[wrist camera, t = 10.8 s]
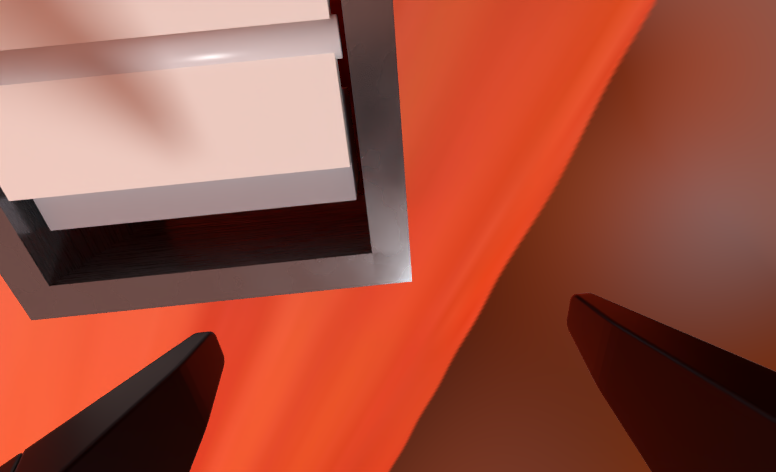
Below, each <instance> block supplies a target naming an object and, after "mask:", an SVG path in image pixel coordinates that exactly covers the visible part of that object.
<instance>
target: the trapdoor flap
mask: <svg viewBox="0 0 776 472" xmlns="http://www.w3.org/2000/svg"><path fill="white" fill-rule="evenodd" d="M342 58H343V51H342V41H341V34H340V27H339V21H338V17H337V14H331V9H330V2H329V0H0V187H1V188H2V190H3V192H4V193H5V195H6V197H7V198H8V200H9V201H15V200H25V199H33V200H34V202H35V204H36V206H37V207H38V209H39V211H40V213H41V214H42V216H43V218H44V220H45V221H46V223H47V225H48V227H49V229H50V230H51V231H53V230H63V229H73V228H83V227H93V226H102V225H112V224H122V223H132V222H142V221H152V220H162V219H172V218H182V217H192V216H202V215H212V214H222V213H232V212H242V211H252V210H261V209H271V208H281V207H291V206H301V205H311V204H321V203H331V202H341V201H351V200H356V199H357V191H358V182H359V167H358V159H357V151H356V143H355V135H354V128H353V120H352V112H351V104H350V96H349V88H348V87H344V88H341V83H340V75H339V68H338V61H337V59H342Z"/></svg>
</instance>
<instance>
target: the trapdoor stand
mask: <svg viewBox="0 0 776 472" xmlns="http://www.w3.org/2000/svg"><path fill="white" fill-rule="evenodd" d="M341 5H342V13H343V21H344V29H345V37H346V45H347V53H348V61H349V69H350V78H351V86H352V94H353V102H354V110H355V118H356V126H357V134H358V142H359V150H360V158H361V167H362V175H363V183H364V191H365V193H364V194H357V199H356V200H351V201H341V202H331V203H321V204H311V205H301V206H291V207H281V208H271V209H261V210H252V211H242V212H232V213H222V214H212V215H202V216H192V217H182V218H172V219H162V220H152V221H142V222H132V223H122V224H112V225H102V226H93V227H83V228H73V229H63V230H53V231H51V230H50V229H49V227H48V225H47V223H46V221H45V220H44V218H43V216H42V214H41V213H40V211H39V209H38V207H37V206H36V204H35V202H34V200H33V199H25V200H15V201H9V200H8V198H7V197H6V195H5V193H4V192H3V190H2V188H1V187H0V274H1V276H2V277H3V279H4V280H5V282H6V283H7V285H8V286H9V288H10V289H11V291H12V292H13V294H14V295H15V297H16V298H17V299H18V301H19V302H20V304H21V305H22V307H23V308H24V310H25V311H26V313H27V314H28V316H29V317H30V319H31V320H38V319H48V318H58V317H68V316H78V315H87V314H97V313H107V312H117V311H127V310H136V309H146V308H156V307H166V306H176V305H185V304H195V303H205V302H215V301H225V300H234V299H244V298H254V297H264V296H274V295H283V294H293V293H303V292H313V291H323V290H332V289H342V288H352V287H362V286H372V285H381V284H391V283H401V282H411V281H412V273H411V259H410V244H409V230H408V216H407V201H406V187H405V172H404V158H403V144H402V129H401V115H400V100H399V86H398V72H397V57H396V43H395V28H394V14H393V0H341Z"/></svg>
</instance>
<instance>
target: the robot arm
mask: <svg viewBox="0 0 776 472" xmlns="http://www.w3.org/2000/svg"><path fill="white" fill-rule="evenodd" d="M567 326H568V329H569V332H570V334H571V336H572V337H573V340H574V341H575V344H576V346H577V347H578V350H579V351H580V353H581V356H582V357H583V359H584V361H585V363H586V365H587V367H588V369H589V371H590V373H591V375H592V377H593V379H594V381H595V383H596V385H597V386H598V388H599V390H600V391H601V393H602V395H603V396H604V398H605V399H606V401H607V402H608V404H609V406H610V407H611V409H612V410H613V412H614V413H615V415H616V416H617V418H618V420H619V421H620V423H621V424H622V426H623V427H624V429H625V431H626V432H627V434H628V435H629V437H630V438H631V440H632V442H633V443H634V445H635V446H636V448H637V449H638V451H639V453H640V454H641V455H642V457H643V459H644V460H645V462H646V464H647V465H648V467H649V468H650V470H651V471H652V472H776V372H775V371H773V370H771V369H768V368H766V367H763V366H761V365H759V364H756V363H754V362H752V361H749V360H747V359H745V358H742V357H740V356H737V355H735V354H733V353H731V352H728V351H726V350H723V349H721V348H719V347H716V346H714V345H711V344H709V343H707V342H705V341H702V340H700V339H698V338H695V337H693V336H690V335H688V334H686V333H683V332H681V331H679V330H676V329H674V328H672V327H669V326H667V325H664V324H662V323H660V322H658V321H655V320H653V319H651V318H648V317H646V316H643V315H641V314H639V313H636V312H634V311H632V310H629V309H627V308H625V307H622V306H620V305H618V304H615V303H613V302H611V301H608V300H606V299H603V298H601V297H599V296H597V295H594V294H592V293H582V294H574V295H573V296H572V297H571V300H570V306H569V311H568V317H567ZM223 367H224V355H223V352H222V350H221V347H220V345H219V342H218V340H217V337H216V335H215V334H214V333H213V332H200V333H195V334H193V335H192V336H190V337H189V338H187V339H186V340H184V341H183V342H182V343H180V344H179V345H177V346H176V347H174V348H173V349H171V350H170V351H168V352H167V353H165V354H164V355H163V356H161V357H160V358H158V359H157V360H155V361H154V362H152V363H151V364H149V365H148V366H147V367H145V368H144V369H142V370H141V371H139V372H138V373H136V374H135V375H133V376H132V377H130V378H129V379H128V380H126V381H125V382H123V383H122V384H120V385H119V386H117V387H116V388H114V389H113V390H112V391H110V392H109V393H107V394H106V395H104V396H103V397H101V398H100V399H98V400H97V401H95V402H94V403H93V404H91V405H90V406H88V407H87V408H85V409H84V410H82V411H81V412H79V413H78V414H76V415H75V416H74V417H72V418H71V419H69V420H68V421H66V422H65V423H63V424H62V425H60V426H59V427H58V428H56V429H55V430H53V431H52V432H50V433H49V434H47V435H46V436H44V437H43V438H41V439H40V440H39V441H37V442H36V443H34V444H33V445H31V446H30V447H28V448H27V449H25V451H24V452H23V453H20V454H18V455H16V456H15V457H14V458H12V459H11V460H9V461H8V462H6V463H5V464H3V465H2V466H1V467H0V472H189V471H190V469H191V466H192V464H193V461H194V458H195V456H196V453H197V451H198V448H199V446H200V443H201V440H202V438H203V435H204V432H205V430H206V427H207V424H208V421H209V417H210V414H211V410H212V407H213V403H214V400H215V396H216V392H217V389H218V385H219V382H220V378H221V374H222V371H223Z"/></svg>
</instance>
